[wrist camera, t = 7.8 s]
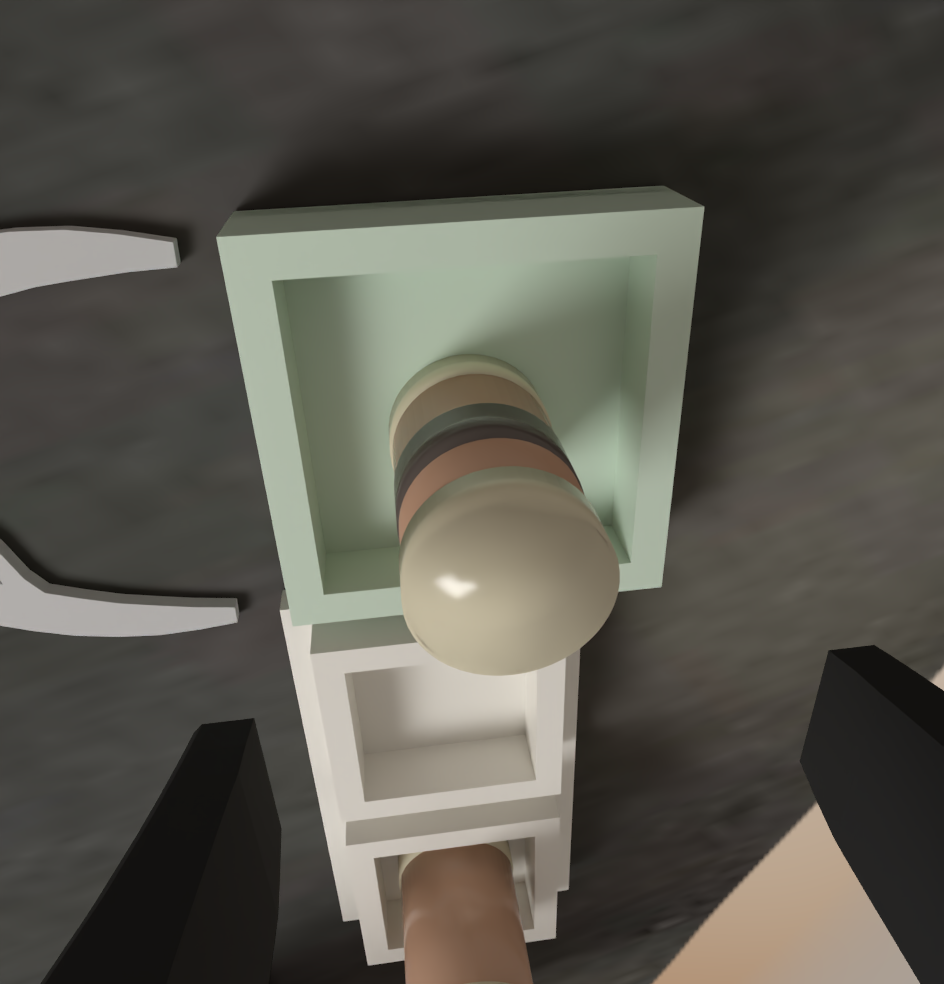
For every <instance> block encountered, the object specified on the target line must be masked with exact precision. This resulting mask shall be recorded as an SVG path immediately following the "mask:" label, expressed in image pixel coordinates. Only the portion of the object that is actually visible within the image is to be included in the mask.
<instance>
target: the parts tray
mask: <svg viewBox="0 0 944 984" xmlns="http://www.w3.org/2000/svg"><path fill="white" fill-rule="evenodd" d="M703 215H704V206H702V205H700V204H698V203H697V202H695V201H693V200H691V199H689V198H687V197H685V196H683V195H681V194H679V193H677V192H675V191H673V190H671V189H669V188H668V187H666V186H647V187H630V188H614V189H597V190H580V191H563V192H547V193H530V194H513V195H496V196H480V197H463V198H446V199H429V200H413V201H396V202H379V203H362V204H346V205H329V206H312V207H295V208H279V209H262V210H245V211H233V213H232V214H231V216H230V217H229V219H228V220H227V222H226V223H225V225H224V226H223V228H222V229H221V231H220V232H219V234H218V235H217V237H216V238H217V243H218V248H219V253H220V259H221V264H222V269H223V274H224V279H225V284H226V289H227V294H228V299H229V304H230V309H231V315H232V320H233V325H234V330H235V335H236V340H237V345H238V350H239V355H240V360H241V366H242V371H243V376H244V381H245V386H246V391H247V396H248V401H249V406H250V411H251V416H252V422H253V427H254V432H255V437H256V442H257V447H258V452H259V457H260V462H261V467H262V473H263V478H264V483H265V488H266V493H267V498H268V503H269V508H270V513H271V518H272V523H273V529H274V534H275V539H276V544H277V549H278V554H279V559H280V564H281V569H282V574H283V580H284V585H285V590H286V595H287V600H288V605H289V610H290V615H291V620H292V625H293V626H302V625H312V624H321V623H330V622H340V621H349V620H358V619H368V618H377V617H386V616H396V615H403V609H402V602H401V589H400V576H399V550H400V543H399V539H398V533H397V522H396V510H395V497H394V470H393V467H392V463H391V457H390V445H389V418H390V413H391V409H392V406H393V404H394V402H395V399H396V397H397V395H398V394H399V392H400V391H401V389H402V388H403V386H404V385H405V384H406V383H407V381H408V380H409V379H411V378H412V377H413V376H414V375H415V374H416V373H417V372H419V371H420V370H421V369H423V368H424V367H426V366H428V365H430V364H431V363H433V362H436V361H438V360H440V359H443V358H447V357H450V356H455V355H462V354H479V355H486V356H491V357H495V358H497V359H500V360H503V361H505V362H507V363H509V364H510V365H512V366H514V367H515V368H517V369H518V370H519V371H521V372H522V373H523V374H524V375H525V376H526V377H527V378H528V379H529V381H530V382H531V383H532V385H533V386H534V387H535V389H536V391H537V393H538V395H539V397H540V399H541V401H542V403H543V405H544V407H545V409H546V411H547V413H548V416H549V419H550V421H551V425H552V429H553V431H554V433H555V435H556V436H557V437H558V439H559V441H560V442H561V444H562V446H563V448H564V450H565V452H566V454H567V456H568V458H569V460H570V462H571V464H572V466H573V468H574V471H575V473H576V475H577V477H578V479H579V481H580V483H581V486H582V489H583V491H584V495H585V496H586V498H587V499H588V500H589V501H590V503H591V504H592V506H593V507H594V509H595V511H596V513H597V515H598V517H599V519H600V521H601V523H602V525H603V527H604V529H605V531H606V533H607V535H608V537H609V539H610V541H611V543H612V545H613V547H614V550H615V552H616V555H617V558H618V563H619V569H620V584H619V590H618V592H620V591H629V590H639V589H648V588H657V587H662V578H663V569H664V560H665V552H666V543H667V534H668V525H669V516H670V507H671V498H672V490H673V481H674V472H675V463H676V454H677V445H678V436H679V428H680V419H681V410H682V401H683V392H684V383H685V374H686V366H687V357H688V348H689V339H690V330H691V321H692V312H693V304H694V295H695V286H696V277H697V268H698V259H699V250H700V242H701V233H702V224H703Z"/></svg>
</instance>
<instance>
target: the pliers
mask: <svg viewBox="0 0 944 984" xmlns="http://www.w3.org/2000/svg"><path fill="white" fill-rule="evenodd" d="M180 263H181V261H180V255H179V249H178V243H177V238H173V237H166V236H159V235H153V234H146V233H139V232H132V231H126V230H116V229H104V228H93V227H81V226H45V227H17V228H9V229H2V230H0V296H4V295H8V294H11V293H15V292H19V291H22V290H26V289H30V288H33V287H38V286H44V285H50V284H56V283H62V282H67V281H73V280H80V279H86V278H93V277H99V276H105V275H112V274H118V273H125V272H134V271H144V270H154V269H164V268H174V267H178V265H179V264H180ZM238 617H239V608H238V602H237V598H190V597H169V596H150V595H133V594H119V593H112V592H104V591H96V590H89V589H82V588H75V587H69V586H62V585H56V584H50V583H48V582H47V581H45V580H44V579H43V578H41V577H40V576H38V575H37V574H35V573H34V572H33V571H31V570H30V569H29V568H28V567H27V566H26V565H25V564H24V563H23V562H22V561H21V560H20V559H19V558H18V557H17V556H16V555H15V553H14V552H13V551H12V550H11V549H10V548H9V547H8V546H7V545H6V544H5V543H4V542H3V541H2V540H1V539H0V626H6V627H12V628H18V629H24V630H30V631H38V632H47V633H56V634H65V635H74V636H107V637H126V636H149V635H164V634H171V633H178V632H186V631H193V630H200V629H205V628H210V627H215V626H221V625H226V624H231V623H236V622H238Z"/></svg>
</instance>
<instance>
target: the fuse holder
mask: <svg viewBox="0 0 944 984" xmlns="http://www.w3.org/2000/svg"><path fill="white" fill-rule="evenodd" d="M280 614H281V619H282V624H283V629H284V633H285V638H286V643H287V648H288V653H289V658H290V663H291V668H292V673H293V677H294V682H295V687H296V692H297V697H298V702H299V707H300V712H301V717H302V721H303V726H304V731H305V736H306V741H307V746H308V751H309V756H310V761H311V765H312V770H313V775H314V780H315V785H316V790H317V795H318V800H319V805H320V809H321V814H322V819H323V824H324V829H325V834H326V839H327V844H328V849H329V854H330V858H331V863H332V868H333V873H334V878H335V883H336V888H337V893H338V898H339V902H340V907H341V912H342V917H343V922H344V921H351V920H358V919H359V920H360V926H361V931H362V937H363V942H364V947H365V953H366V958H367V963H368V966H369V965H376V964H383V963H390V962H396V961H403V960H404V940H403V920H402V900H401V890H400V887H399V873H398V855H401V854H409V853H416V852H424V851H431V850H439V849H446V848H454V847H461V846H468V845H476V844H483V843H491V842H498V841H506V840H508V841H509V847H510V852H511V858H512V863H513V877H514V883H515V888H516V894H517V899H518V905H519V910H520V916H521V921H522V927H523V932H524V937H525V943H526V942H533V941H540V940H547V939H553V938H556V915H557V891H563V890H569V870H570V850H571V829H572V809H573V788H574V768H575V747H576V726H577V706H578V685H579V665H580V649H578V650H577V651H576V652H574V653H573V654H571V655H569V656H568V657H566V658H564V659H562V660H560V661H558V662H556V663H554V664H552V665H550V666H547V667H544V668H541V669H539V670H535V671H531V672H527V673H522V674H515V675H504V676H491V675H480V674H473V673H469V672H465V671H461V670H458V669H456V668H453V667H451V666H448V665H446V664H444V663H443V662H441V661H439V660H437V659H436V658H434V657H433V656H432V655H430V654H429V653H428V652H427V651H426V650H424V649H423V648H422V647H421V646H420V645H419V643H418V642H417V641H416V639H415V638H414V637H413V635H412V634H411V632H410V630H409V628H408V626H407V624H406V621H405V618H404V615H396V616H386V617H377V618H368V619H358V620H349V621H340V622H330V623H321V624H312V625H302V626H293V625H292V620H291V615H290V610H289V605H288V600H287V595H286V590H282V597H281V605H280Z"/></svg>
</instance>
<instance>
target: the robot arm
mask: <svg viewBox="0 0 944 984" xmlns="http://www.w3.org/2000/svg"><path fill="white" fill-rule="evenodd" d="M800 763H801V765H802V767H803V770H804V772H805V774H806V777H807V779H808V781H809V784H810V786H811V788H812V791H813V793H814V795H815V798H816V800H817V802H818V805H819V807H820V809H821V811H822V813H823V815H824V818H825V820H826V822H827V824H828V826H829V828H830V830H831V832H832V835H833V837H834V839H835V841H836V842H837V844H838V846H839V848H840V849H841V851H842V853H843V855H844V856H845V858H846V860H847V861H848V863H849V865H850V866H851V868H852V870H853V872H854V873H855V875H856V877H857V878H858V880H859V882H860V883H861V885H862V887H863V889H864V890H865V892H866V894H867V895H868V897H869V899H870V900H871V902H872V904H873V906H874V907H875V909H876V910H877V912H878V914H879V915H880V917H881V919H882V921H883V922H884V924H885V925H886V927H887V929H888V931H889V932H890V934H891V936H892V937H893V939H894V940H895V942H896V944H897V946H898V947H899V949H900V951H901V952H902V954H903V955H904V957H905V959H906V961H907V962H908V964H909V965H910V967H911V969H912V970H913V972H914V974H915V976H916V977H917V979H918V980H919V982H920V984H944V691H943V690H942V689H940V688H938V687H937V686H936V685H934V684H933V683H931V682H930V681H928V680H927V679H925V678H924V677H922V676H921V675H919V674H918V673H916V672H915V671H913V670H912V669H910V668H909V667H907V666H906V665H904V664H903V663H901V662H900V661H898V660H897V659H895V658H894V657H892V656H891V655H889V654H887V653H886V652H884V651H883V650H881V649H879V648H878V647H876V646H875V645H871V646H863V647H854V648H846V649H837V650H829V651H828V655H827V659H826V663H825V667H824V671H823V674H822V678H821V682H820V686H819V690H818V694H817V697H816V701H815V705H814V709H813V713H812V717H811V720H810V724H809V728H808V732H807V736H806V739H805V743H804V747H803V751H802V755H801V759H800ZM280 857H281V825H280V821H279V817H278V813H277V809H276V805H275V801H274V797H273V793H272V789H271V785H270V781H269V777H268V773H267V769H266V765H265V761H264V757H263V753H262V749H261V745H260V740H259V736H258V732H257V728H256V724H255V720H254V718H252V719H244V720H235V721H227V722H218V723H210V724H202V725H201V726H200V727H199V728H198V729H197V730H196V731H195V732H194V734H193V736H192V738H191V740H190V741H189V743H188V745H187V747H186V749H185V751H184V753H183V755H182V757H181V758H180V760H179V762H178V764H177V766H176V768H175V769H174V771H173V773H172V775H171V777H170V779H169V780H168V782H167V784H166V786H165V788H164V789H163V791H162V793H161V795H160V796H159V798H158V800H157V802H156V803H155V805H154V807H153V809H152V810H151V812H150V814H149V815H148V817H147V819H146V821H145V822H144V824H143V826H142V827H141V829H140V831H139V833H138V834H137V836H136V838H135V839H134V841H133V843H132V844H131V846H130V847H129V849H128V851H127V852H126V854H125V855H124V857H123V859H122V860H121V862H120V863H119V865H118V867H117V868H116V870H115V872H114V873H113V875H112V876H111V878H110V880H109V881H108V883H107V884H106V886H105V888H104V889H103V891H102V893H101V894H100V896H99V897H98V899H97V901H96V902H95V904H94V905H93V907H92V908H91V910H90V911H89V913H88V915H87V916H86V918H85V919H84V921H83V922H82V924H81V925H80V926H79V928H78V929H77V931H76V932H75V934H74V935H73V937H72V938H71V940H70V941H69V943H68V944H67V946H66V947H65V949H64V950H63V951H62V953H61V954H60V956H59V957H58V959H57V960H56V962H55V963H54V965H53V966H52V968H51V969H50V971H49V972H48V974H47V975H46V976H45V978H44V979H43V981H42V982H41V984H269V979H270V972H271V965H272V958H273V951H274V943H275V936H276V929H277V921H278V908H279V885H280Z"/></svg>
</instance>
